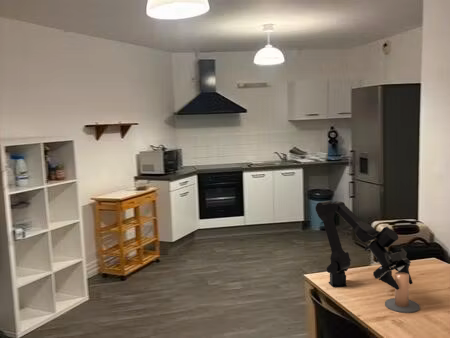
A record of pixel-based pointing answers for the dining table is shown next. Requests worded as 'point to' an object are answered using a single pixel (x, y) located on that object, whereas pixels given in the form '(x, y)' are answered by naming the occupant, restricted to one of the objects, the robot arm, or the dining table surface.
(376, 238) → the robot arm
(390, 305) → the mat
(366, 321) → the dining table surface
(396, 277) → the tan rounded cylinder
